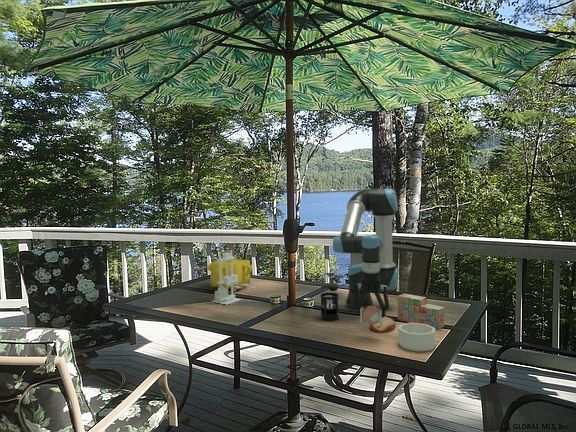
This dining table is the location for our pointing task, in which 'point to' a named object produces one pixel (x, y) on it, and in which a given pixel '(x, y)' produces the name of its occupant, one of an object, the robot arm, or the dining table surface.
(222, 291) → the machine
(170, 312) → the dining table surface
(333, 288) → the french press
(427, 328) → the white bowl
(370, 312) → the toy ball
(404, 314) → the stack of blocks
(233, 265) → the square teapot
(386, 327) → the slice of bread
